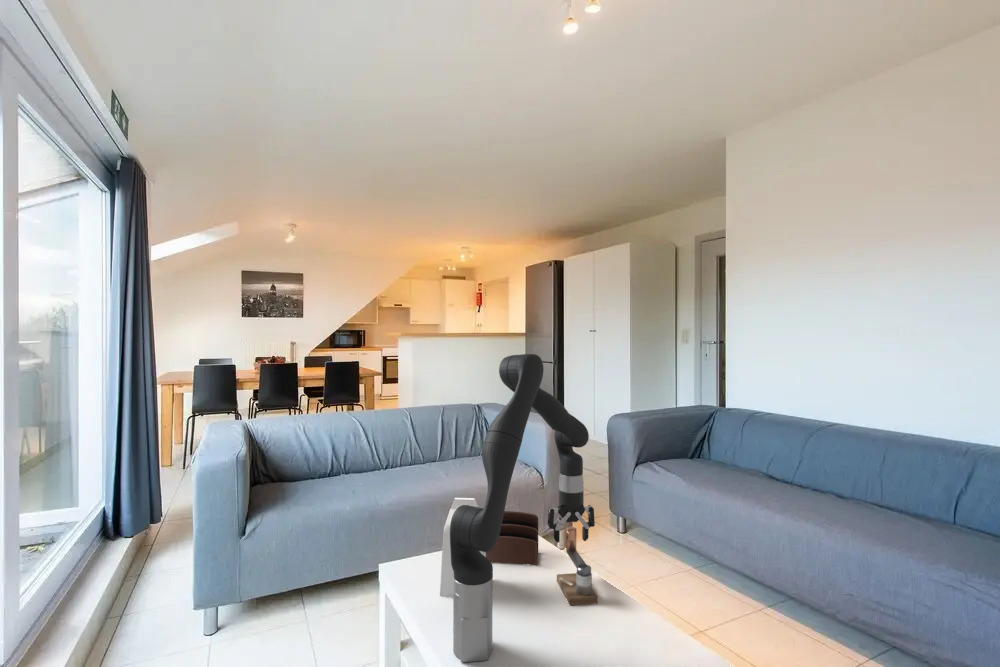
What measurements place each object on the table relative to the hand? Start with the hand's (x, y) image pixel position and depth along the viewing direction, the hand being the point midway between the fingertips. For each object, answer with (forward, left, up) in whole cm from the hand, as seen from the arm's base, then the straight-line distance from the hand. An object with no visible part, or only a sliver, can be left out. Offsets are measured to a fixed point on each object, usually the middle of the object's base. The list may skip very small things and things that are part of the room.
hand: (571, 540), depth 155 cm
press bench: (-9, +1, -11) cm, 14 cm away
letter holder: (+16, +17, -12) cm, 26 cm away
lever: (-7, 0, -4) cm, 8 cm away
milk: (-2, +33, -11) cm, 35 cm away
